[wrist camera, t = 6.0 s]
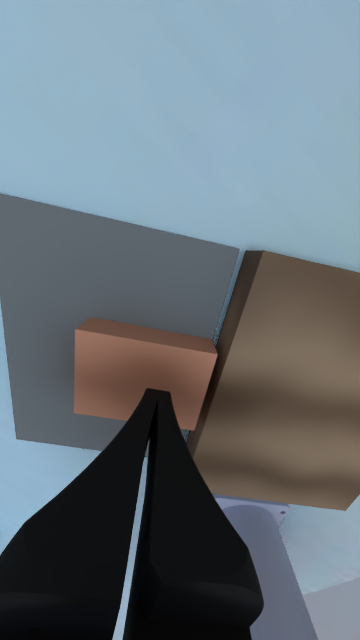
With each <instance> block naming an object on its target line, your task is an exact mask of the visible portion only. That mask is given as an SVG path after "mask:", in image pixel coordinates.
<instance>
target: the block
mask: <svg viewBox="0 0 360 640" xmlns="http://www.w3.org/2000/svg"><path fill="white" fill-rule="evenodd" d="M217 355H218V354H217V351H216V349H215V346H214V343H213V341H212V339H208V338H203V337H197V336H192V335H186V334H181V333H175V332H170V331H164V330H159V329H153V328H148V327H142V326H137V325H131V324H126V323H121V322H115V321H110V320H104V319H99V318H93V317H91V318H89V319H88V320H87V321H85V322H84V323H83V324H81V325H80V326H79V327H77V328H76V329H75V369H74V413H76V414H83V415H90V416H97V417H104V418H111V419H118V420H124V421H128V419H129V418H130V416H131V415H132V413H133V412H134V410H135V409H136V407H137V406H138V404H139V402H140V400H141V399H142V397H143V395H144V392H145V390H146V389H147V388H151V389H157V390H163V391H169V392H170V393H171V398H172V403H173V407H174V411H175V414H176V418H177V421H178V424H179V427H180V429H186V430H193V431H194V430H195V427H196V423H197V420H198V417H199V414H200V410H201V407H202V404H203V401H204V397H205V394H206V391H207V388H208V384H209V381H210V378H211V375H212V371H213V368H214V365H215V362H216V358H217Z"/></svg>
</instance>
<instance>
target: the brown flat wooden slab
mask: <svg viewBox="0 0 360 640" xmlns="http://www.w3.org/2000/svg"><path fill="white" fill-rule="evenodd" d="M216 351H217V354H218V355H217V358H216V362H215V365H214V368H213V371H212V375H211V378H210V381H209V384H208V388H207V391H206V394H205V397H204V401H203V404H202V407H201V410H200V414H199V417H198V420H197V423H196V427H195V430H194V431H193V430H190V433H189V436H188V440H187V443H186V445H187V447H188V449H189V452H190V454H191V456H192V458H193V460H194V462H195V464H196V466H197V468H198V470H199V472H200V474H201V476H202V478H203V479H204V481H205V483H206V484H207V486H208V488H209V490H210V491H211V493H212V494H218V495H225V496H233V497H241V498H249V499H257V500H265V501H273V502H280V503H288V504H296V505H304V506H312V507H320V508H328V509H336V510H343V511H346V510H347V508H348V507H349V506H350V505H351V504H352V503H353V501H354V500H355V499H356V498H357V497H358V495H359V494H360V273H358V272H353V271H349V270H345V269H341V268H336V267H332V266H328V265H323V264H319V263H315V262H310V261H306V260H302V259H298V258H293V257H289V256H285V255H280V254H276V253H272V252H267V251H246V252H245V255H244V258H243V261H242V265H241V268H240V271H239V274H238V278H237V281H236V284H235V287H234V291H233V294H232V297H231V300H230V303H229V307H228V310H227V313H226V316H225V320H224V323H223V326H222V329H221V333H220V336H219V339H218V342H217V346H216Z"/></svg>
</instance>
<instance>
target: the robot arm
mask: <svg viewBox="0 0 360 640" xmlns="http://www.w3.org/2000/svg"><path fill="white" fill-rule="evenodd" d="M149 437H150V438H149ZM148 441H149V451H148V464H147V477H146V488H145V497H144V504H143V511H142V517H141V524H140V531H139V537H138V544H137V551H136V557H135V564H134V570H133V577H132V583H131V590H130V596H129V602H128V609H127V615H126V622H125V628H124V634H123V640H318V638H317V635H316V632H315V629H314V627H313V624H312V621H311V618H310V615H309V613H308V610H307V607H306V604H305V601H304V599H303V596H302V593H301V590H300V587H299V585H298V582H297V579H296V576H295V574H294V571H293V568H292V565H291V562H290V560H289V557H288V554H287V551H286V548H285V546H284V543H283V540H282V537H281V535H280V532H279V529H278V526H279V524H280V523H281V521H282V520H283V518H284V517H285V515H286V514H287V512H288V511H289V509H290V508H289V506H288V504H287V503H280V502H273V501H265V500H257V499H249V498H241V497H233V496H225V495H218V494H214V495H212V493H211V491H210V490H209V488H208V486H207V484H206V483H205V481H204V479H203V478H202V476H201V474H200V472H199V470H198V468H197V466H196V464H195V462H194V460H193V458H192V456H191V454H190V452H189V449H188V447H187V445H186V442H185V440H184V437H183V435H182V432H181V430H180V427H179V424H178V421H177V418H176V414H175V411H174V407H173V403H172V398H171V393H170V392H169V391H163V390H157V389H151V388H147V389H146V390H145V392H144V395H143V397H142V399H141V400H140V402H139V404H138V406H137V407H136V409H135V410H134V412H133V413H132V415H131V416H130V418H129V419H128V421H127V422H126V423H125V425H124V426H123V427H122V428H121V430H120V431H119V432H118V434H117V435H116V436H115V437H114V439H113V440H112V441H111V442H110V443H109V444H108V445H107V447H106V448H105V449H104V450H103V451H102V452H101V453H100V454H99V455H98V456H97V457H96V458H95V460H94V461H93V462H92V463H91V464H90V465H89V466H88V467H87V468H86V469H85V470H84V471H83V472H82V473H81V474H79V475H78V476H77V477H76V478H75V479H74V480H73V481H72V482H71V483H70V484H69V485H68V486H67V487H66V488H65V489H63V490H62V491H61V492H60V493H59V494H58V495H57V496H56V497H54V498H53V499H52V500H51V501H50V502H48V503H47V504H46V505H45V506H44V507H42V508H41V509H40V510H39V511H38V512H37V513H35V514H34V515H33V516H32V517H31V518H29V519H28V520H27V521H26V522H25V523H24V524H23V525H22V527H21V528H20V529H19V531H18V532H17V533H16V534H15V536H14V537H13V538H12V540H11V541H10V542H9V544H8V545H7V547H6V548H5V549H4V551H3V552H2V554H1V555H0V640H112V638H113V634H114V630H115V626H116V622H117V617H118V613H119V609H120V604H121V599H122V593H123V587H124V581H125V574H126V568H127V562H128V555H129V549H130V542H131V536H132V529H133V523H134V516H135V510H136V503H137V497H138V491H139V484H140V478H141V472H142V466H143V461H144V457H145V453H146V449H147V445H148Z"/></svg>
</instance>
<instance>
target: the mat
mask: <svg viewBox="0 0 360 640" xmlns="http://www.w3.org/2000/svg"><path fill="white" fill-rule="evenodd" d="M239 250H240V249H238V248H234V247H230V246H225V245H221V244H217V243H212V242H208V241H204V240H199V239H195V238H191V237H186V236H182V235H178V234H173V233H169V232H165V231H160V230H156V229H152V228H147V227H143V226H139V225H134V224H130V223H126V222H121V221H117V220H113V219H108V218H104V217H100V216H95V215H91V214H87V213H82V212H78V211H74V210H69V209H65V208H61V207H56V206H52V205H48V204H43V203H39V202H35V201H30V200H26V199H22V198H17V197H13V196H9V195H4V194H0V300H1V309H2V317H3V326H4V335H5V344H6V353H7V361H8V370H9V379H10V388H11V397H12V405H13V414H14V423H15V432H16V439H20V440H27V441H34V442H41V443H49V444H56V445H63V446H70V447H77V448H85V449H92V450H99V451H103V450H104V449H105V448H106V447H107V445H108V444H109V443H110V442H111V441H112V440H113V439H114V437H115V436H116V435H117V434H118V432H119V431H120V430H121V428H122V427H123V426H124V425H125V423H126V422H127V421H124V420H118V419H111V418H104V417H97V416H90V415H83V414H76V413H74V369H75V329H76V328H77V327H79V326H80V325H81V324H83V323H84V322H85V321H87V320H88V319H89V318H91V317H93V318H99V319H104V320H110V321H115V322H121V323H126V324H131V325H137V326H142V327H148V328H153V329H159V330H164V331H170V332H175V333H181V334H186V335H192V336H197V337H203V338H208V339H212V340H213V337H214V334H215V330H216V327H217V324H218V320H219V317H220V314H221V310H222V307H223V303H224V300H225V297H226V293H227V290H228V287H229V283H230V280H231V277H232V273H233V270H234V266H235V263H236V260H237V256H238V253H239ZM180 430H181V432H182V435H183V437H184V435H185V431H186V429H180ZM149 438H150V437H149ZM148 451H149V441H148V445H147V449H146V453H145V457H148Z"/></svg>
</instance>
